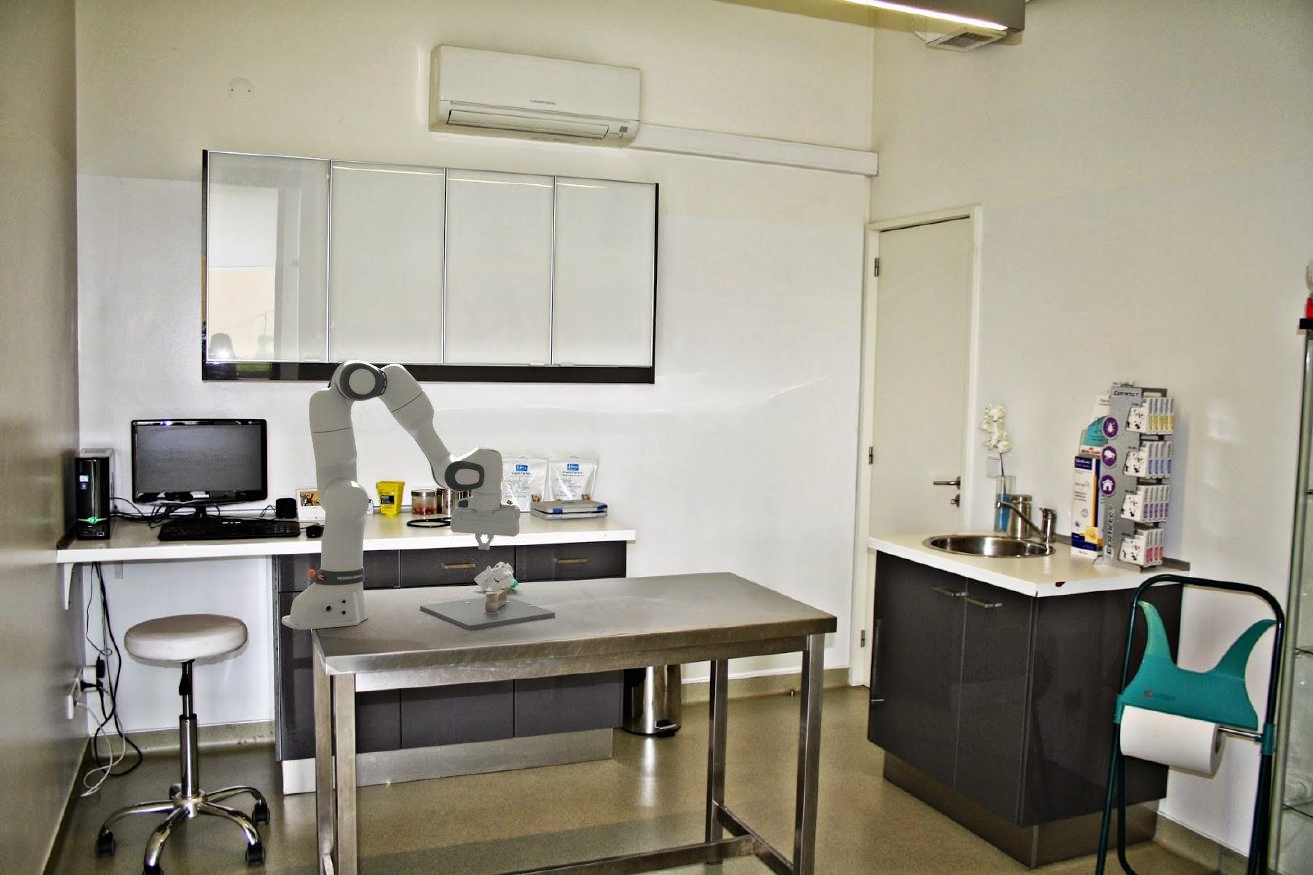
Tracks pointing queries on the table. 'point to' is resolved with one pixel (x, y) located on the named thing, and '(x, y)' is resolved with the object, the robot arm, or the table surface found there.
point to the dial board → (475, 616)
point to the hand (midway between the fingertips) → (483, 549)
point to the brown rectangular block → (495, 600)
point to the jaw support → (497, 577)
